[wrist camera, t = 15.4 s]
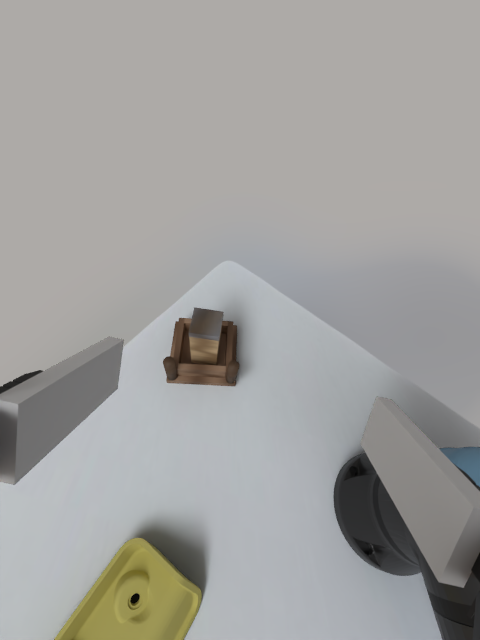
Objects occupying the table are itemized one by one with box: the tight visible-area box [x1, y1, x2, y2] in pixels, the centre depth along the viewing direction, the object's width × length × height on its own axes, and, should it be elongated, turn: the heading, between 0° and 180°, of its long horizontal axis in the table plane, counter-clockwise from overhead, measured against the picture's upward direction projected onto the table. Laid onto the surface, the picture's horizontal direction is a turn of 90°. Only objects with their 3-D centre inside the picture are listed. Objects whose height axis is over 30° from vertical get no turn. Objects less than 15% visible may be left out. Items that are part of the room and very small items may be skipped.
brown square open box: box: [163, 318, 239, 386], centre depth 51 cm, size 12×12×7 cm
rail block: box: [189, 308, 223, 365], centre depth 48 cm, size 5×5×11 cm
